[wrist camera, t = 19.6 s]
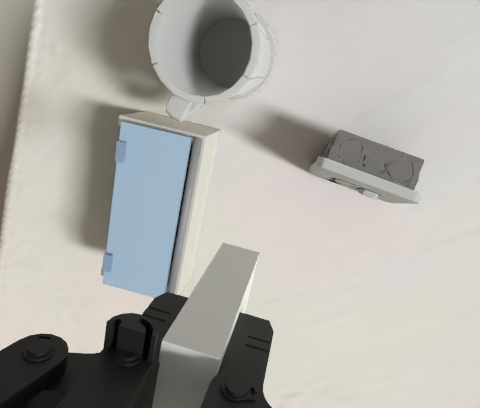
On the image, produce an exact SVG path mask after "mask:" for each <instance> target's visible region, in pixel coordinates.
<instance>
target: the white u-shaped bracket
mask: <svg viewBox="0 0 480 408" xmlns="http://www.w3.org/2000/svg"><path fill="white" fill-rule="evenodd" d="M121 121H127V122H131V123H135V124H140V125H144V126H148V127H152V128H157V129H161V130H165V131H169V132H173V133H178V134H182V135H186V136H190V137H192V141H191V144H193V141H194V137H198V138H201V139H202V145H201V151H200V156H199V162H198V167H197V173H196V178H195V184H194V189H193V195H192V200H191V206H190V212H189V217H188V223H187V228H186V234H185V239H184V245H183V250H182V256H181V261H180V267H179V273H178V278H177V284H176V289H175V294H176V295H179V293H180V292H181V291H182V289H183V288H184V286H185V285H186V283H187V282H188V280H189V279H190V277H191V276H192V274H193V271H194V266H195V261H196V256H197V250H198V245H199V240H200V235H201V230H202V224H203V219H204V214H205V209H206V204H207V199H208V193H209V188H210V183H211V178H212V173H213V168H214V162H215V157H216V152H217V147H218V142H219V137H220V131H221V130H219V129H215V128H211V127H207V126H203V125H198V124H194V123H190V122H186V121H182V122H179V121H177V120H175V119H173V118H169V117H165V116H161V115H157V114H153V113H149V112H145V111H143V112H137V113H130V114H124V115H119V119H118V125H119V126H121ZM172 262H173V260H171V263H170V269H169V275H168V281H167V287H166V292H167V291H168V285H169V279H170V274H171V268H172ZM101 275H102V276H104V271H102V270H101Z"/></svg>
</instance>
